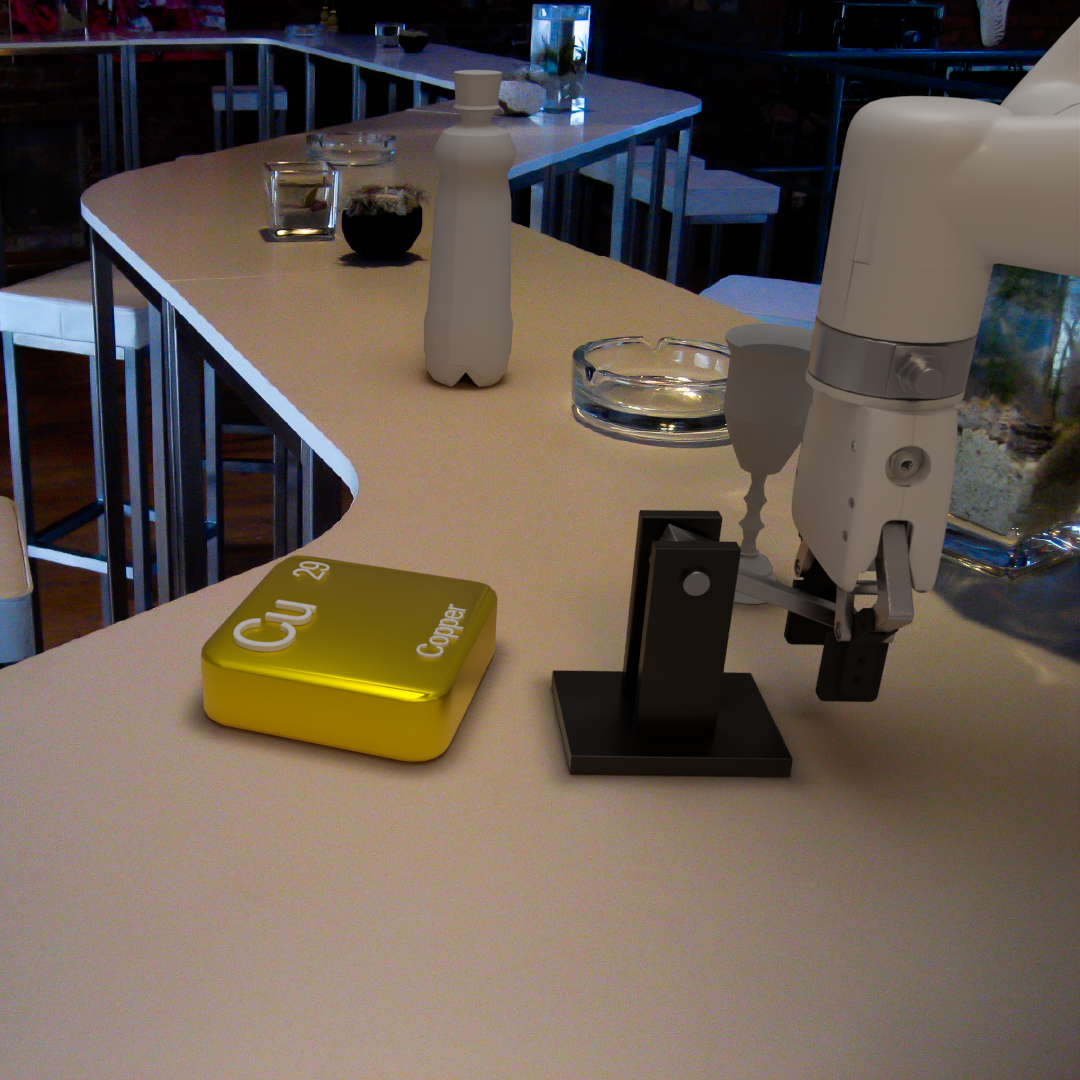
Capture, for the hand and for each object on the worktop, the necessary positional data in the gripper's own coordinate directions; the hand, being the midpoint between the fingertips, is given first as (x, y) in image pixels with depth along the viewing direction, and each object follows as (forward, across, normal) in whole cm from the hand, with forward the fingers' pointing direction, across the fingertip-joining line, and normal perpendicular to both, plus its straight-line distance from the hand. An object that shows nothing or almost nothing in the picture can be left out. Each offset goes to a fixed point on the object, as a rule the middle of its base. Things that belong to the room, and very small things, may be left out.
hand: (828, 666), depth 71 cm
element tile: (+5, +5, +27) cm, 28 cm away
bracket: (+4, 0, +9) cm, 10 cm away
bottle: (+5, +65, +17) cm, 67 cm away
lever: (-4, 0, +5) cm, 6 cm away
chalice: (+5, +18, 0) cm, 19 cm away
